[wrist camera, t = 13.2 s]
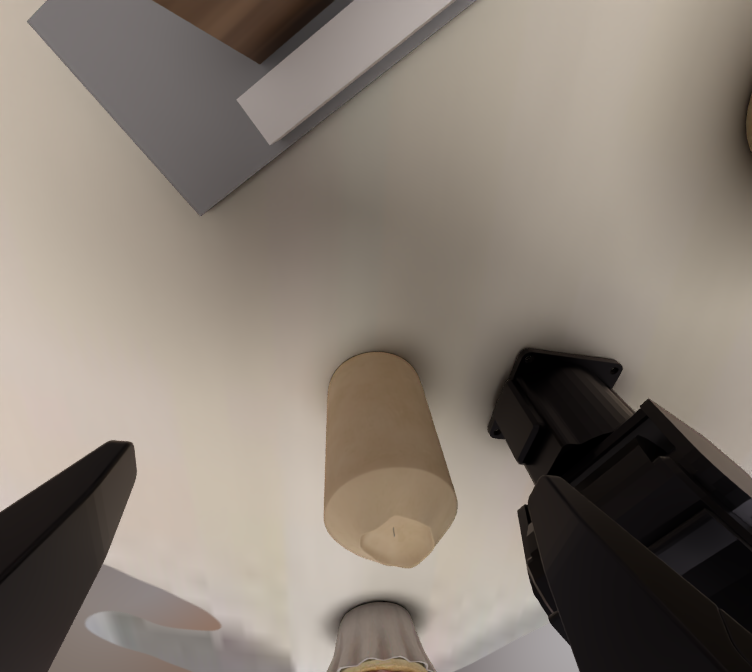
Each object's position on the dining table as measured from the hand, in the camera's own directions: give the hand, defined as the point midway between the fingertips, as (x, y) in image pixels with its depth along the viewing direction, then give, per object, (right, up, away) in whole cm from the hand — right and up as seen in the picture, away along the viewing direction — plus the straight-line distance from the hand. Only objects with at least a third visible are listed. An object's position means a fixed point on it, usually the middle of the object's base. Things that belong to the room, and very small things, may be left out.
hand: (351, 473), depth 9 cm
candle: (0, 0, +15) cm, 15 cm away
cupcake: (0, -22, +28) cm, 36 cm away
